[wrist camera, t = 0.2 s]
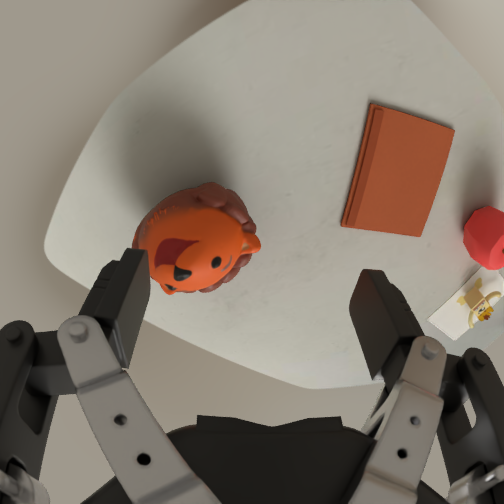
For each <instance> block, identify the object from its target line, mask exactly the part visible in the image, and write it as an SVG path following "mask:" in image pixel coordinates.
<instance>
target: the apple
mask: <svg viewBox="0 0 504 504" xmlns="http://www.w3.org/2000/svg"><path fill="white" fill-rule="evenodd" d="M463 243H464V245H465V247H466V249H467V250H468V252H469V254H470V256H471V257H472V258H473V259H474V260H475V261H477V262H478V263H479V264H481V265H482V266H483V267H485V268H486V269H487V270H497V269H500V268H502V267H504V213H503V212H502V211H500V210H498V209H495V208H493V207H491V206H487V207H484V208H481V209H478V210H475V211H474V213H473V214H472V216H471V217H470V219H469V220H468V221H467V223H466V224H465V226H464V239H463Z"/></svg>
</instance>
